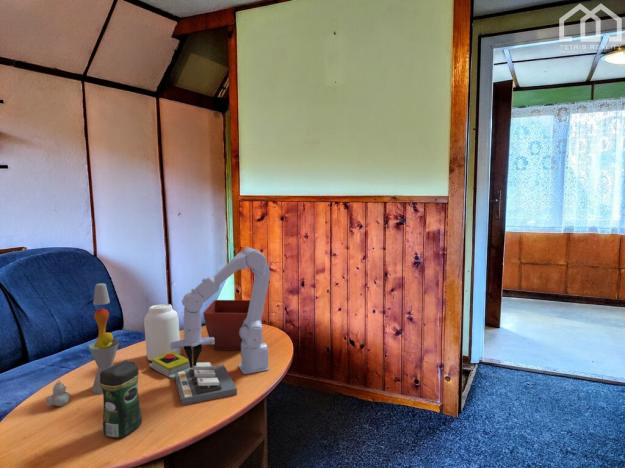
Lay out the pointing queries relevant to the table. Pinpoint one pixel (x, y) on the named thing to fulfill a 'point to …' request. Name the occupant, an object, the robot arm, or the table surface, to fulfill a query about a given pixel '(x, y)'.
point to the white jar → (161, 330)
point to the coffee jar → (120, 399)
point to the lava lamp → (102, 337)
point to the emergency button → (170, 364)
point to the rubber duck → (58, 395)
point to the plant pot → (226, 322)
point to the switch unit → (196, 393)
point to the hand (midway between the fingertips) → (192, 366)
